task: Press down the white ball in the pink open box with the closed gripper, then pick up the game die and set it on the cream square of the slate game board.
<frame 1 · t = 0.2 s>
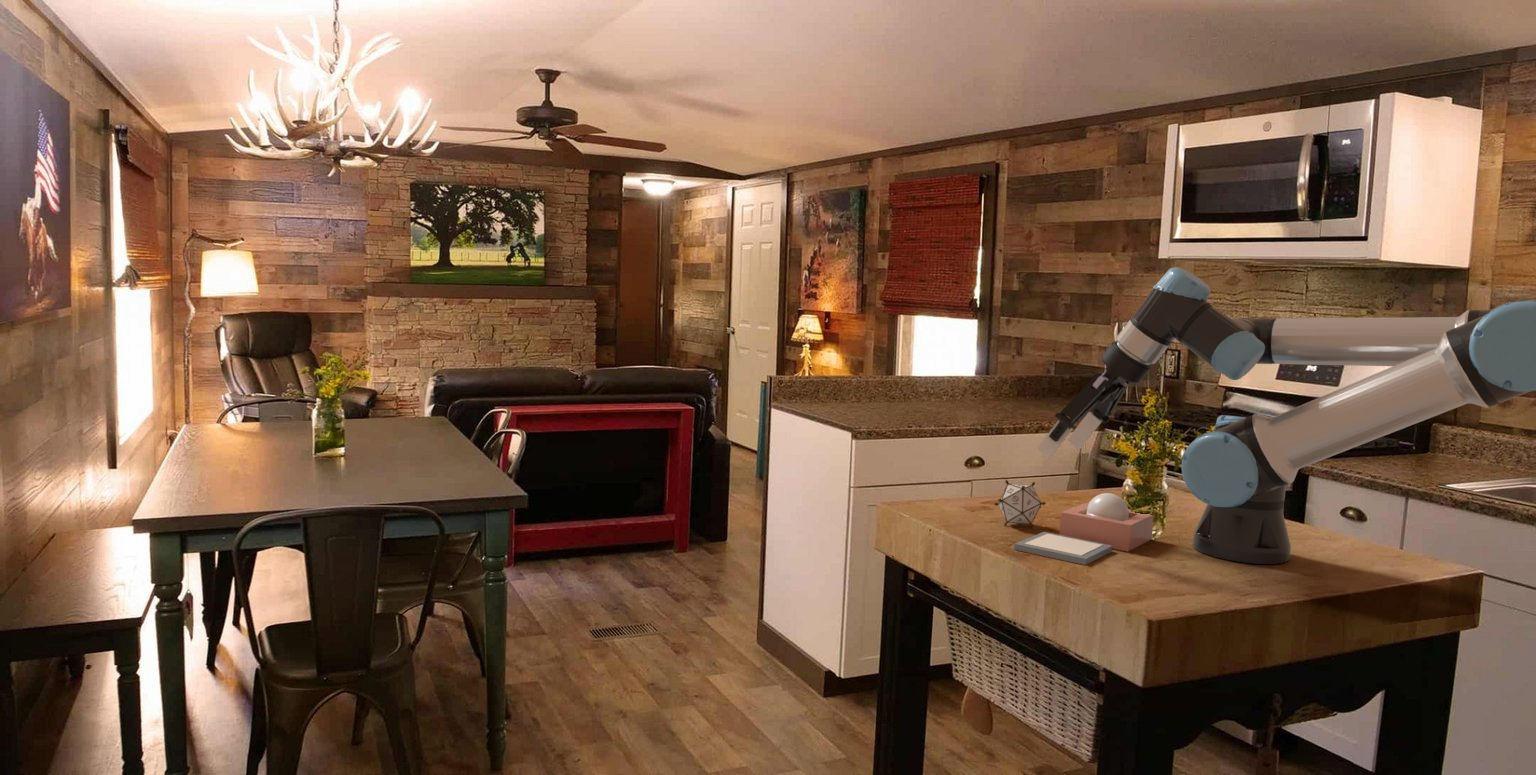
hand: (1058, 449, 183), 15 cm above the table, tool tilted 35°, fingers open, 13 cm apart
game die: (1017, 526, 190), on the table
pink open box: (1105, 538, 183), on the table
white ball: (1107, 513, 182), point 5 cm above the table, slide at 0.0 cm
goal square: (1063, 550, 173), on the table
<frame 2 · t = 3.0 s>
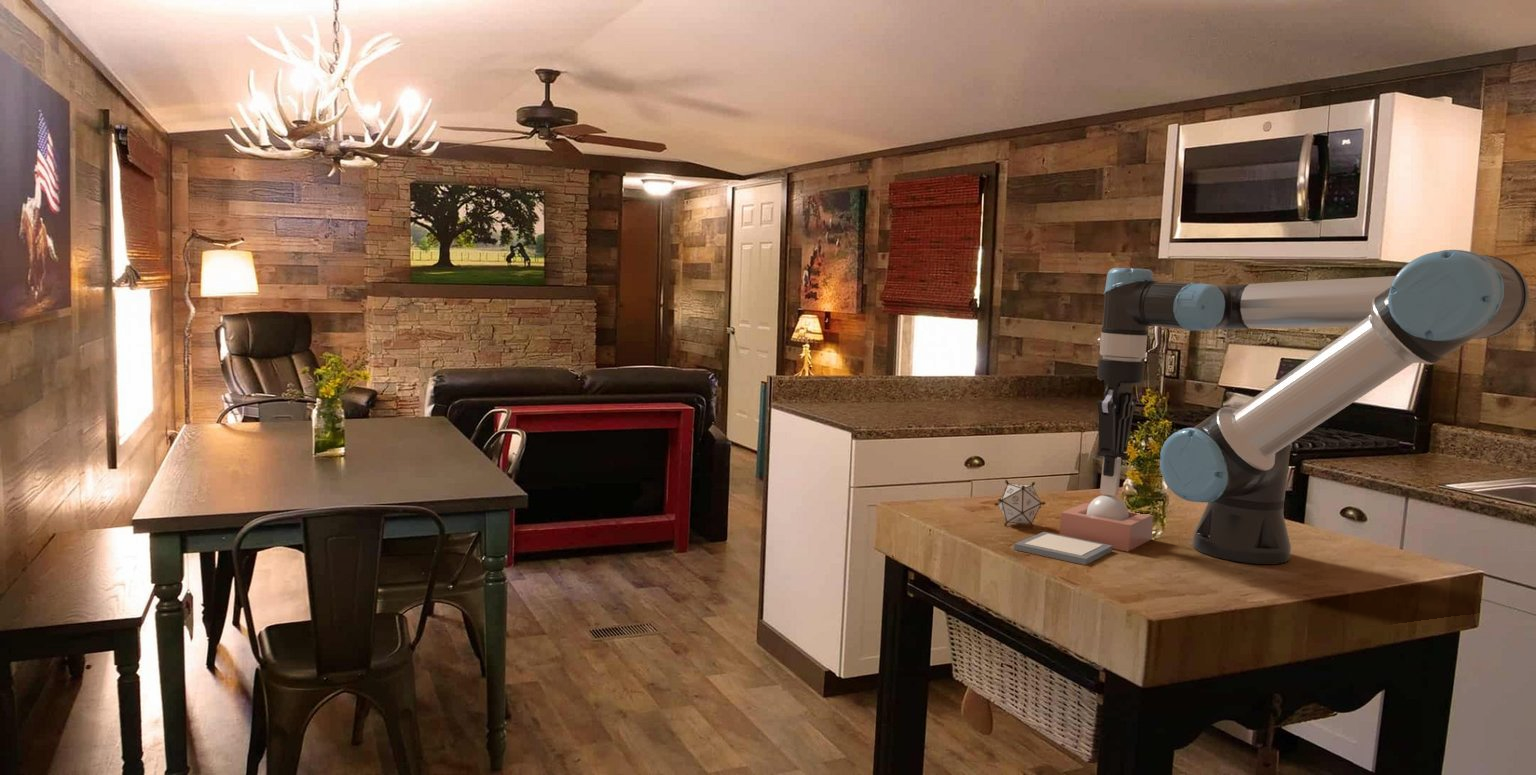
hand: (1108, 493, 182), 8 cm above the table, tool pointing down, fingers closed
white ball: (1107, 515, 182), point 4 cm above the table, slide at 0.3 cm, touching gripper
everything else where it was.
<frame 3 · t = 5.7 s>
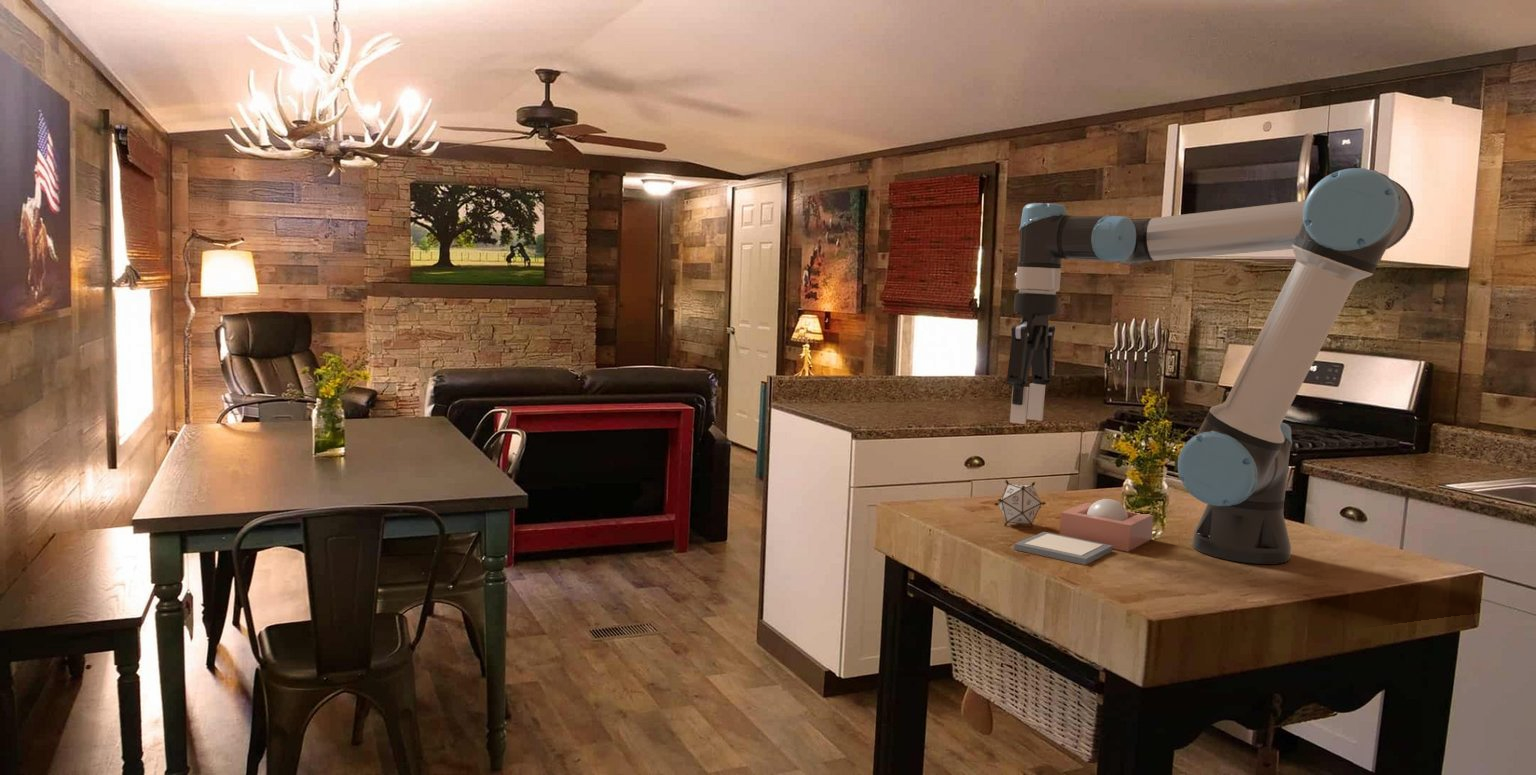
hand: (1026, 421, 187), 19 cm above the table, tool pointing down, fingers open, 7 cm apart
white ball: (1107, 519, 182), point 3 cm above the table, slide at 1.0 cm
everything else where it was.
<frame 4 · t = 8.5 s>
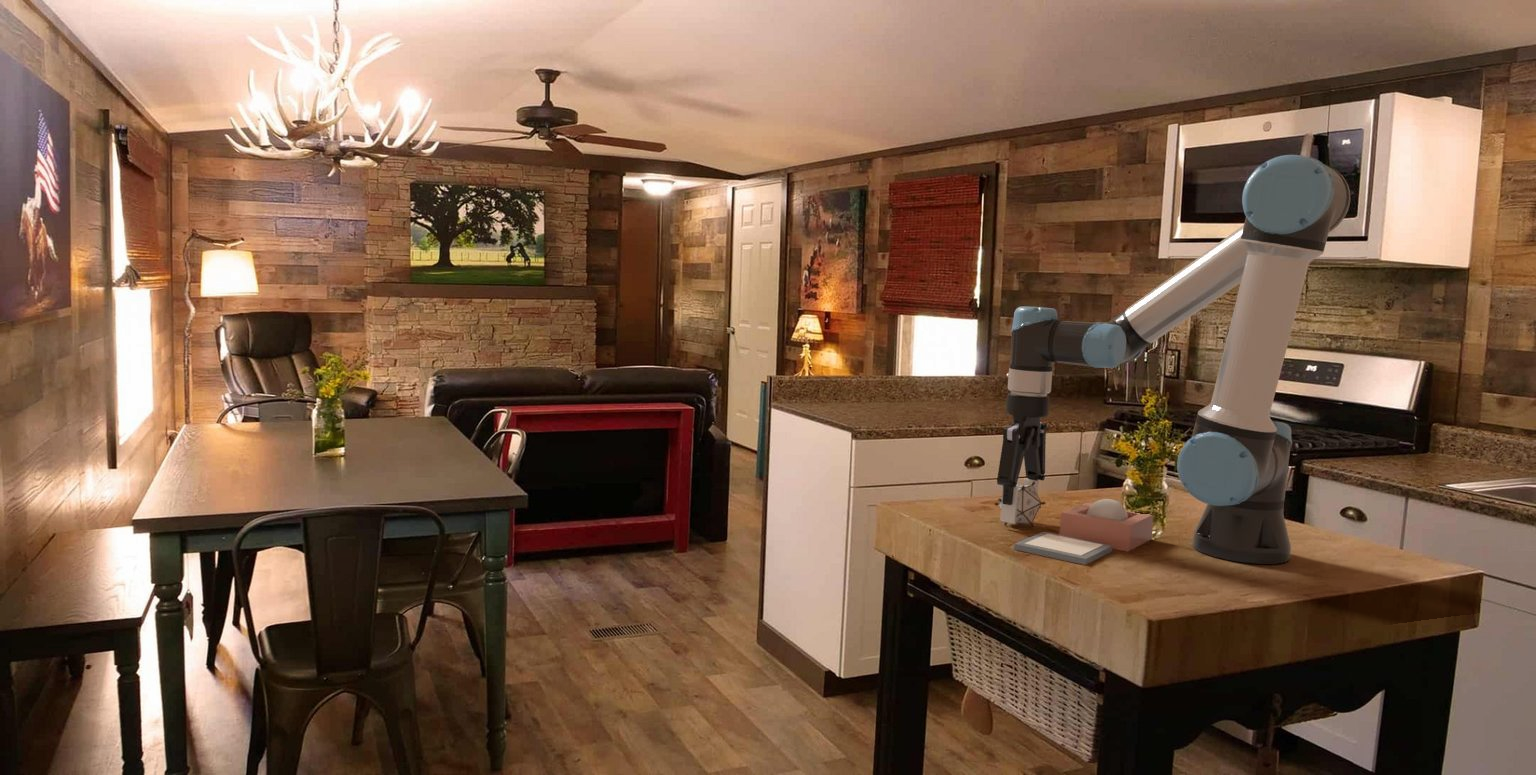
hand: (1018, 518, 189), 1 cm above the table, tool pointing down, fingers closed on game die, 8 cm apart
game die: (1017, 526, 190), on the table, touching gripper
everything else where it was.
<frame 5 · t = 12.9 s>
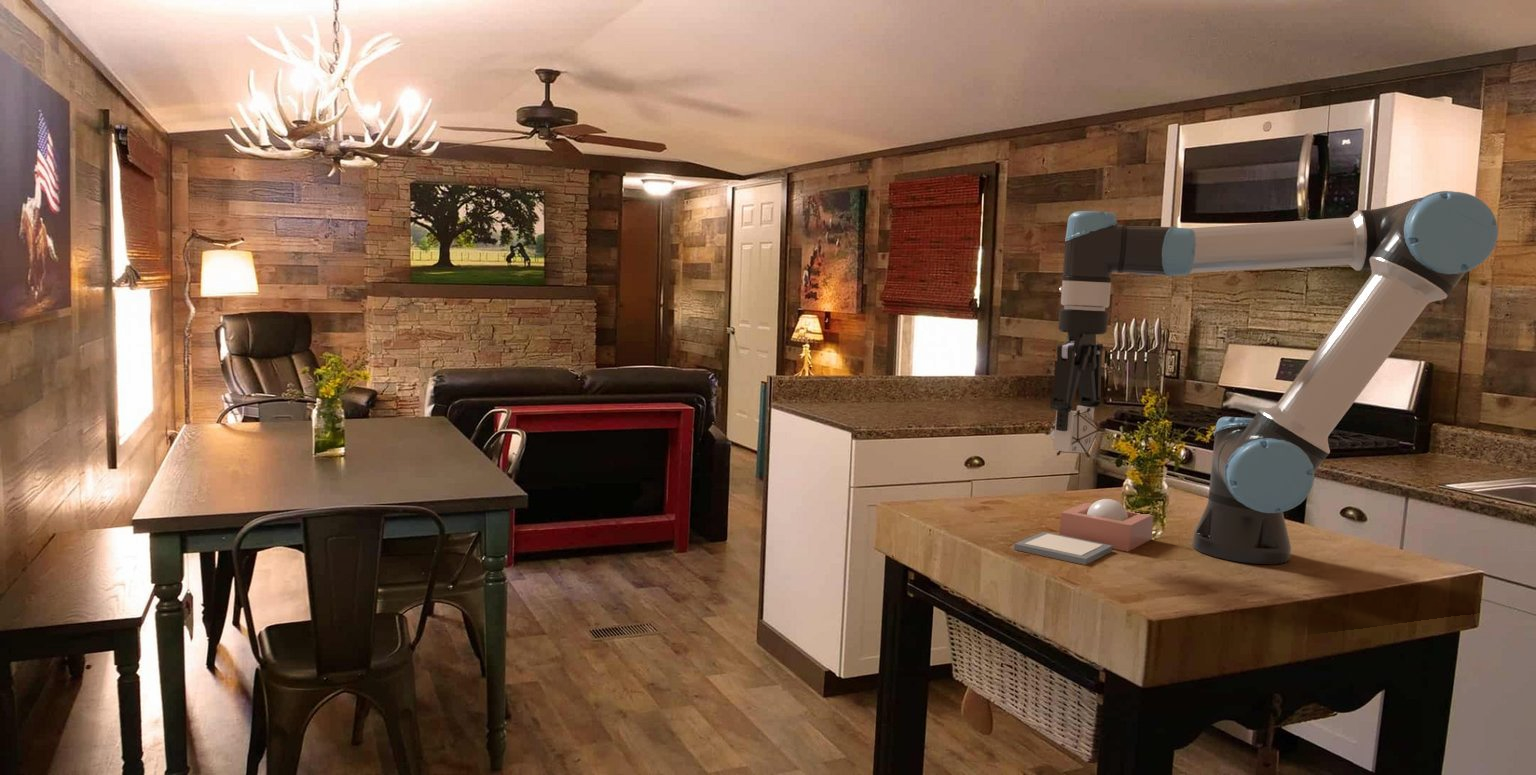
hand: (1072, 447, 171), 17 cm above the table, tool pointing down, fingers closed on game die, 8 cm apart
game die: (1071, 456, 171), point 16 cm above the table, touching gripper
everything else where it was.
when the fingers open (3 cm above the table, at t = 17.2 s): game die stays where it is, resting on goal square.
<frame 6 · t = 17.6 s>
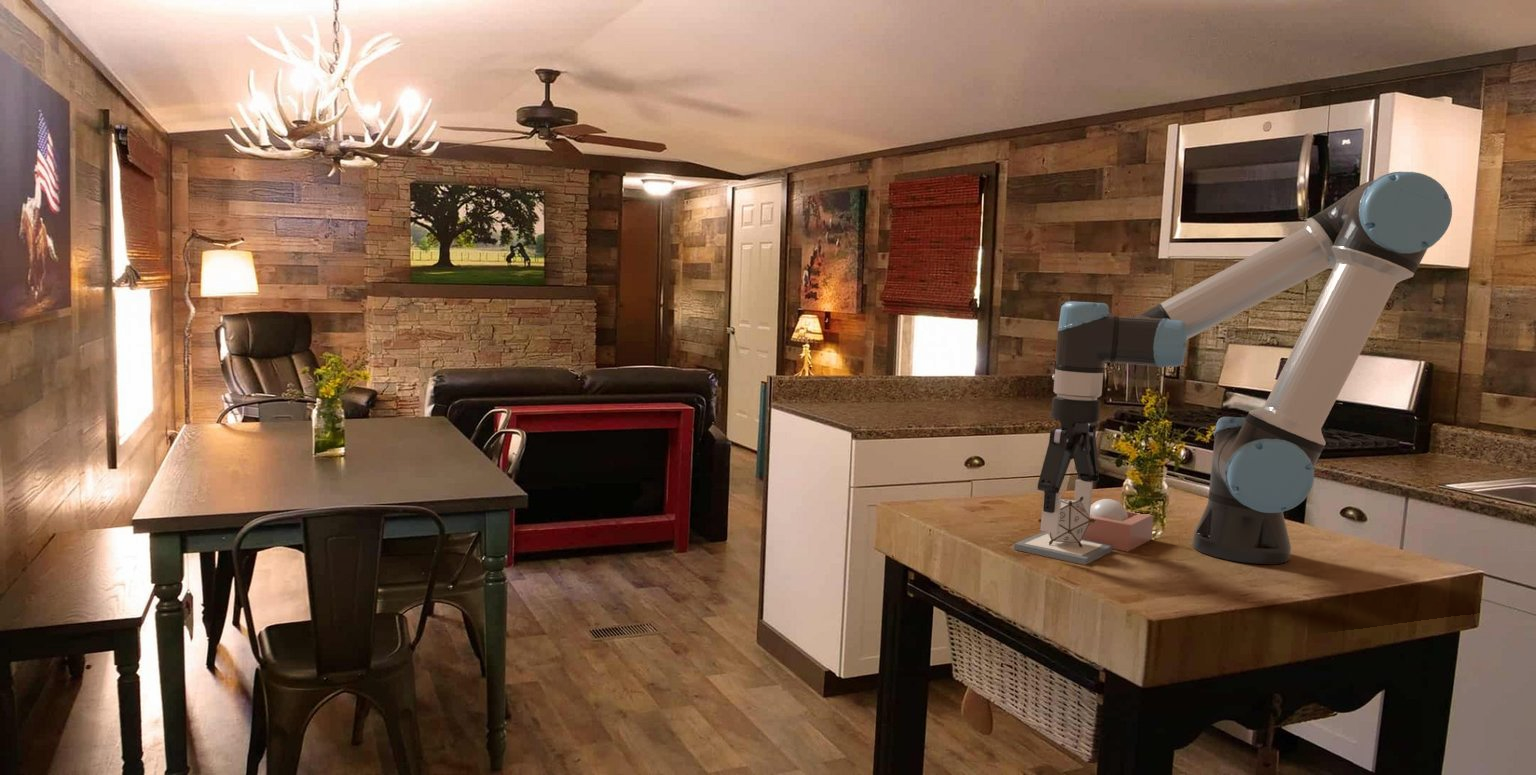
hand: (1065, 525, 173), 4 cm above the table, tool pointing down, fingers open, 13 cm apart
game die: (1064, 545, 173), point 1 cm above the table, touching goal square
everything else where it was.
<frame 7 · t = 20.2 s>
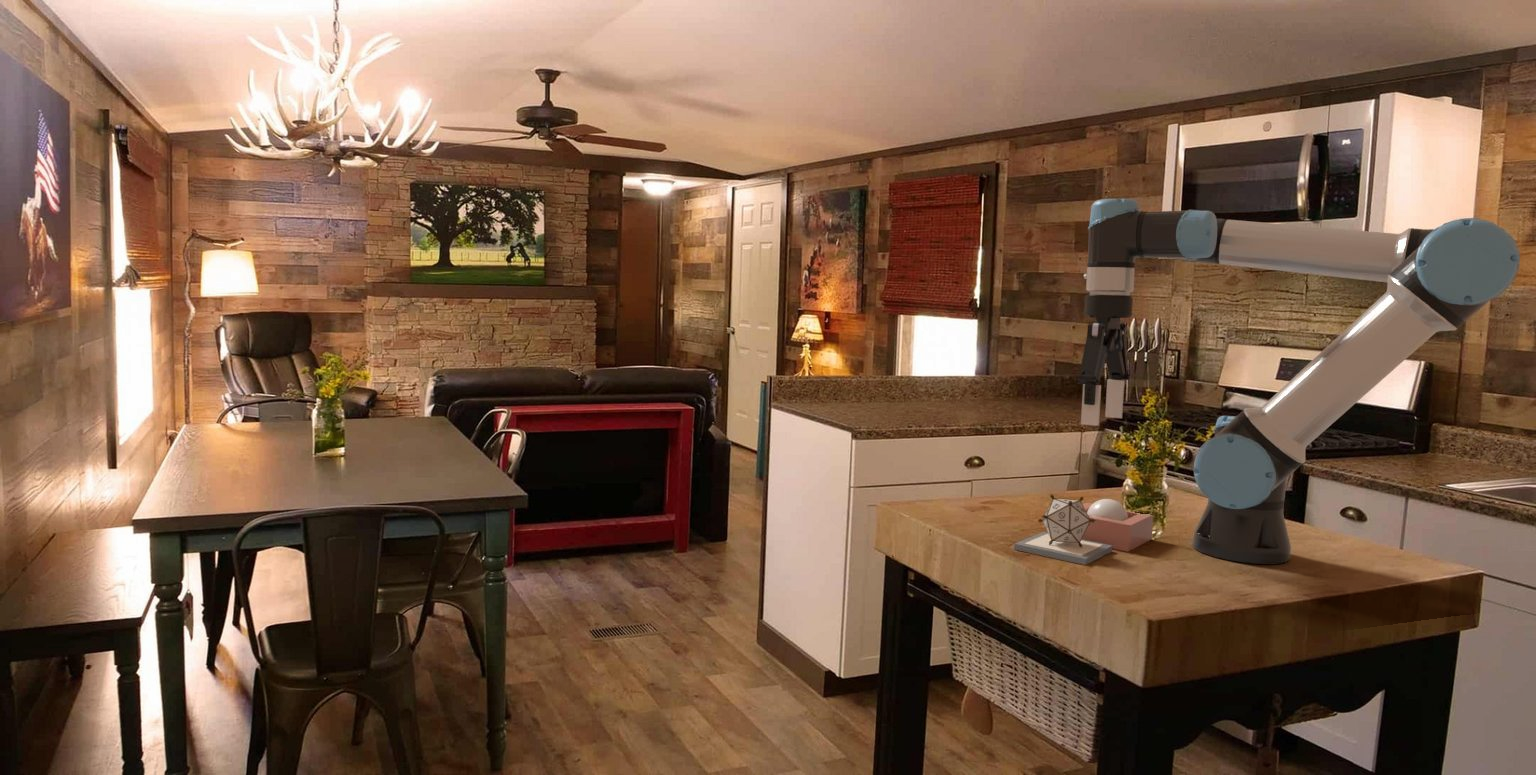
hand: (1102, 421, 176), 21 cm above the table, tool pointing down, fingers open, 13 cm apart
nothing on the table moved.
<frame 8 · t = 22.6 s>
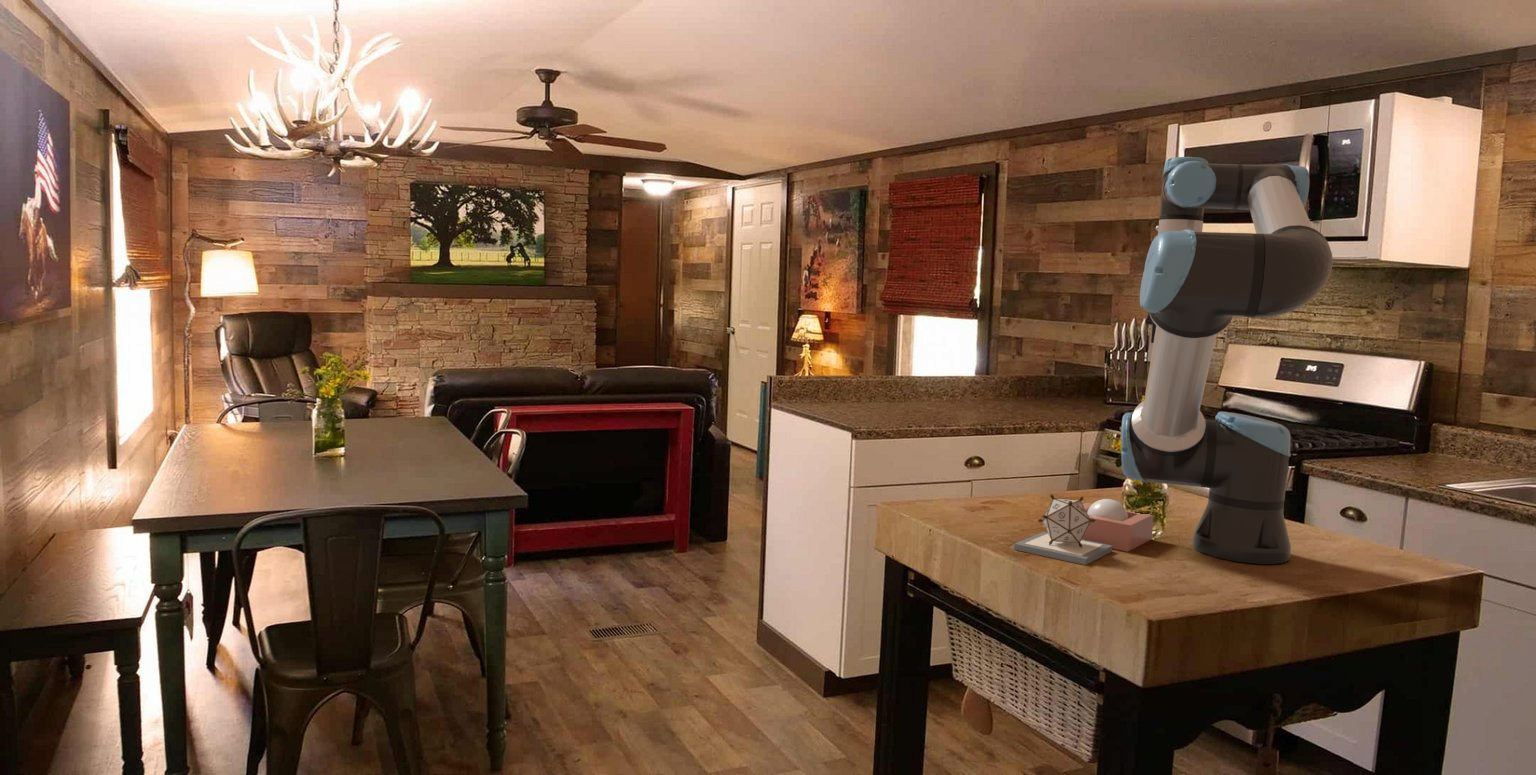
hand: (1167, 360, 193), 31 cm above the table, tool pointing down, fingers open, 13 cm apart
nothing on the table moved.
at the end: white ball slide at 1.0 cm; game die inside the target area on the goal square (0.1 cm from its centre), point 0.9 cm above the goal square's base; game die touching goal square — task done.
